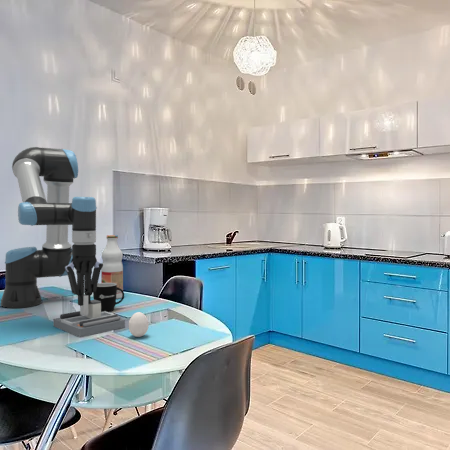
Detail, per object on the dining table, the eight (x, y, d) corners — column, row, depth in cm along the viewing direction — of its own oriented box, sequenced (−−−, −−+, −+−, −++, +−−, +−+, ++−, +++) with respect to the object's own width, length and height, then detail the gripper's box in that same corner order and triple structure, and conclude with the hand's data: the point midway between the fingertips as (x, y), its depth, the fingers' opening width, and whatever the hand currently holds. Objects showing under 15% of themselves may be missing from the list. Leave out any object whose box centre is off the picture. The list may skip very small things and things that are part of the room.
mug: (95, 313, 160) (95, 287, 160) (91, 309, 168) (91, 283, 168) (126, 310, 165) (126, 284, 165) (121, 306, 173) (121, 281, 173)
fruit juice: (122, 299, 187) (122, 235, 186) (100, 300, 185) (99, 235, 184) (123, 295, 196) (123, 234, 195) (102, 295, 194) (102, 234, 194)
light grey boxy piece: (86, 317, 143) (86, 300, 143) (94, 315, 146) (94, 299, 145) (92, 319, 141) (92, 302, 141) (100, 317, 143) (100, 301, 143)
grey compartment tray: (53, 326, 142) (53, 316, 142) (96, 317, 154) (96, 308, 154) (79, 337, 130) (79, 326, 130) (125, 327, 142) (125, 317, 142)
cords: (83, 327, 131) (83, 322, 131) (60, 318, 142) (60, 314, 142) (120, 320, 141) (120, 315, 141) (96, 312, 152) (96, 307, 152)
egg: (131, 333, 134) (131, 309, 134) (150, 334, 134) (150, 310, 134) (126, 339, 128) (126, 314, 128) (146, 339, 128) (146, 314, 128)
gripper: (70, 245, 133) (70, 320, 133) (107, 243, 142) (107, 313, 143) (59, 243, 138) (60, 316, 138) (96, 242, 147) (96, 309, 148)
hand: (84, 314), depth 141 cm, fingers closed
